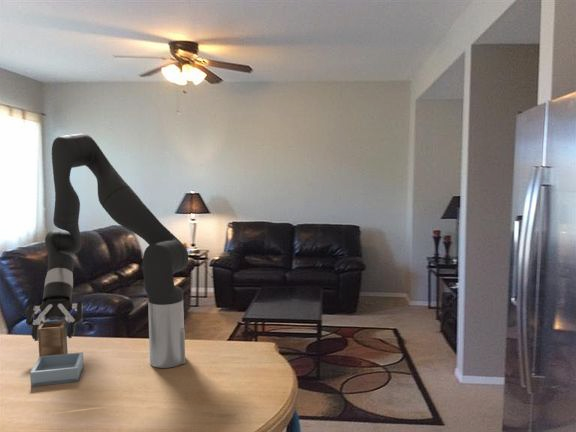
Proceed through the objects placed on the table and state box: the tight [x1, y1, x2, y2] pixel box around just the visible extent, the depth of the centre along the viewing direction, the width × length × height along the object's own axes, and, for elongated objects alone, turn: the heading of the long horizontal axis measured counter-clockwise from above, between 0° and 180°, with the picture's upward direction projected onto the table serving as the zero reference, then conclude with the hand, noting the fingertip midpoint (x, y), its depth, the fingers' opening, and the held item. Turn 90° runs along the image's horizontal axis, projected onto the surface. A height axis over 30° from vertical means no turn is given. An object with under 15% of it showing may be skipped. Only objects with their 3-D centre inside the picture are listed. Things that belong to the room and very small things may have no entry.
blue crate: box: [29, 351, 85, 388], centre depth 125 cm, size 11×11×4 cm
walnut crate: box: [38, 319, 69, 358], centre depth 135 cm, size 6×6×10 cm
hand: (52, 338), depth 135 cm, fingers open, 8 cm apart
